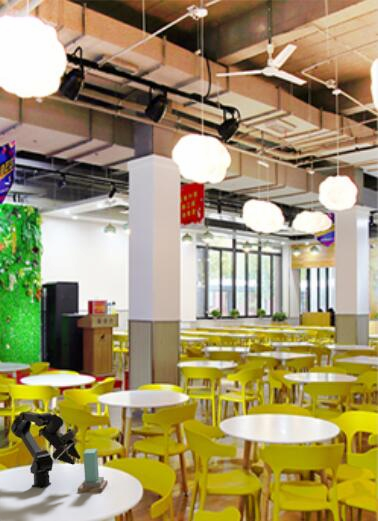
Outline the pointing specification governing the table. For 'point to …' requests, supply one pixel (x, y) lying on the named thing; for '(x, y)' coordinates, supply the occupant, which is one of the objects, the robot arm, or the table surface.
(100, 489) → the walnut slab
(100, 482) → the charcoal tile
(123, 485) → the table surface
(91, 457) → the teal pillar
